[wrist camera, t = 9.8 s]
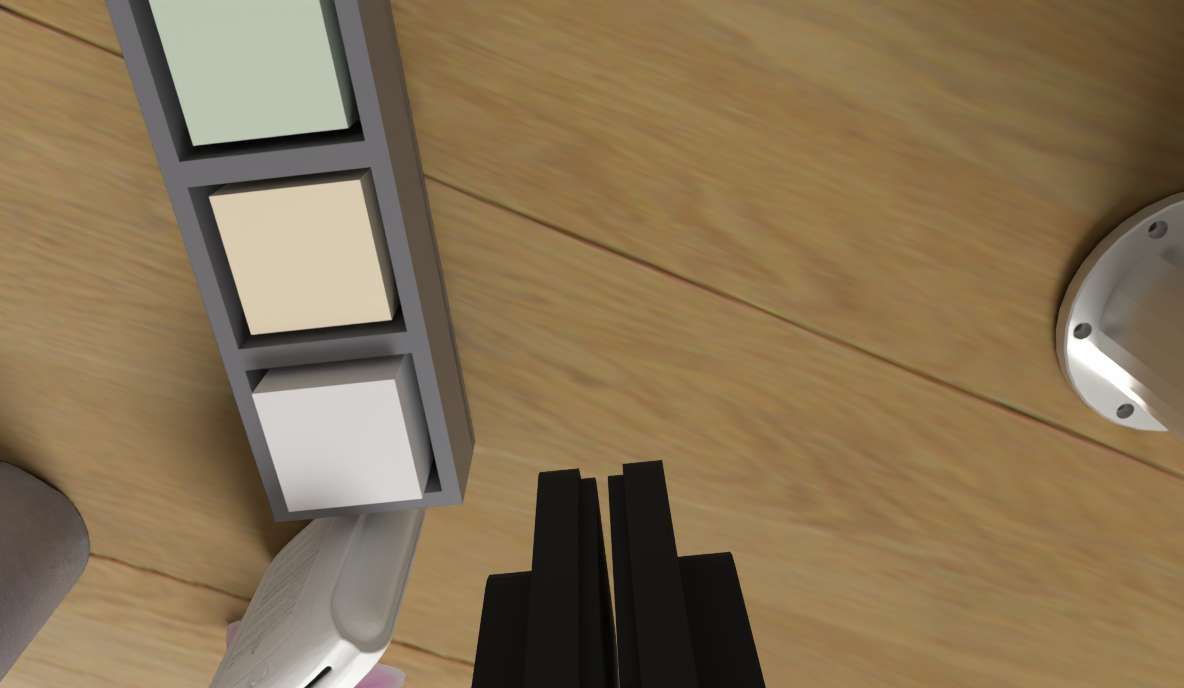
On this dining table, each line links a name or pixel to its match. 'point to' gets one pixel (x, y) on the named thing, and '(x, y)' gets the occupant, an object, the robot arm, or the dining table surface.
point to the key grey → (346, 431)
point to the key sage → (256, 67)
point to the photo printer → (325, 604)
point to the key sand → (307, 250)
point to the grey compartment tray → (366, 143)
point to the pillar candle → (34, 557)
